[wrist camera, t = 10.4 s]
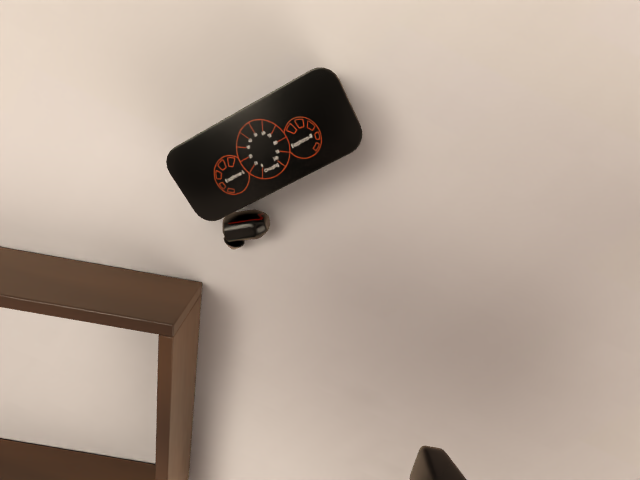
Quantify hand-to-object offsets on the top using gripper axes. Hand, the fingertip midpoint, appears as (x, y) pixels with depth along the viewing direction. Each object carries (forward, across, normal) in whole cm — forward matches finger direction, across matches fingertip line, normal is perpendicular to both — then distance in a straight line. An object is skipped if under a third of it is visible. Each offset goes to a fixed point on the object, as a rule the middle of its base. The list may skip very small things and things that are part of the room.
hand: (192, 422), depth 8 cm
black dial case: (+11, +1, -3) cm, 11 cm away
